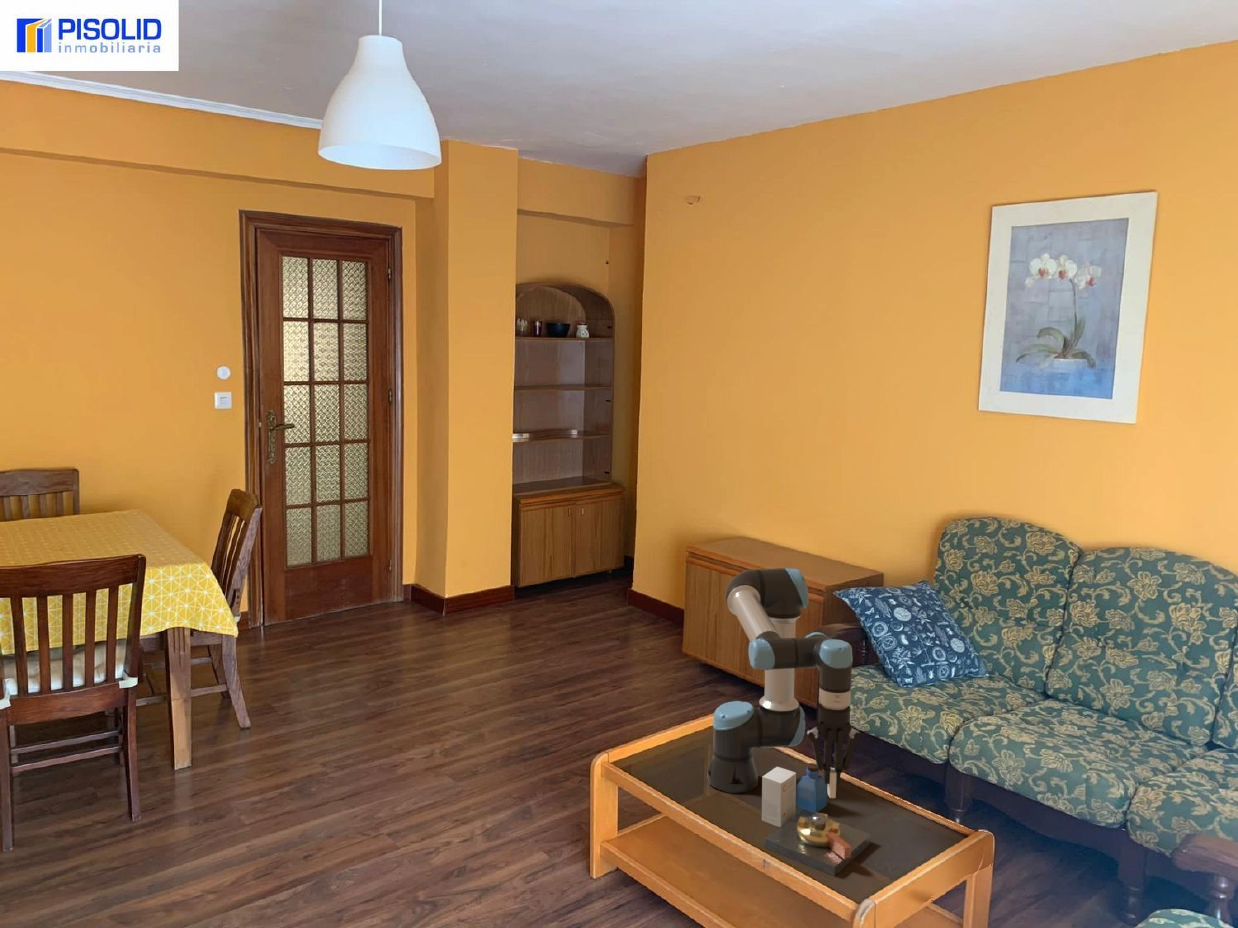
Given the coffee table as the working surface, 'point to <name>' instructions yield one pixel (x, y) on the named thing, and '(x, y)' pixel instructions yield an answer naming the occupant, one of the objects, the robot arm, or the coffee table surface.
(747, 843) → the coffee table surface
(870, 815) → the coffee table surface
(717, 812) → the coffee table surface
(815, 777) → the perfume bottle
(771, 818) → the small box
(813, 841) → the gold tabbed disc
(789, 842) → the flange plate
